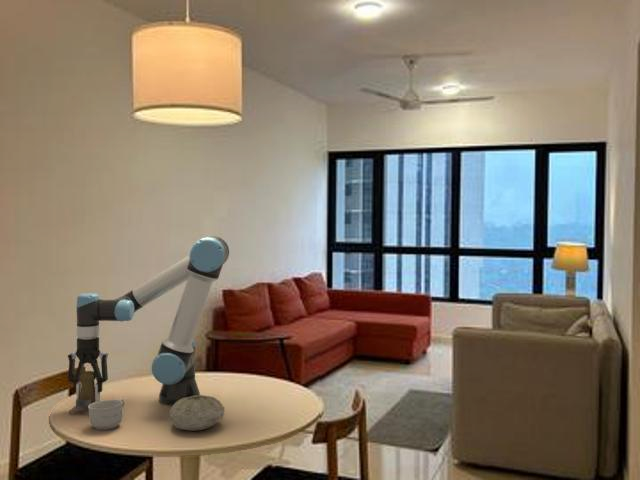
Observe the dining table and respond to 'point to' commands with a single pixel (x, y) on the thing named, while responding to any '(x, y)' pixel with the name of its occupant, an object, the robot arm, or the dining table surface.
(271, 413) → the dining table surface
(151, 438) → the dining table surface
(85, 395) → the cork
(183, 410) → the grey stone
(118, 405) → the teacup
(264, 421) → the dining table surface
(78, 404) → the stand
